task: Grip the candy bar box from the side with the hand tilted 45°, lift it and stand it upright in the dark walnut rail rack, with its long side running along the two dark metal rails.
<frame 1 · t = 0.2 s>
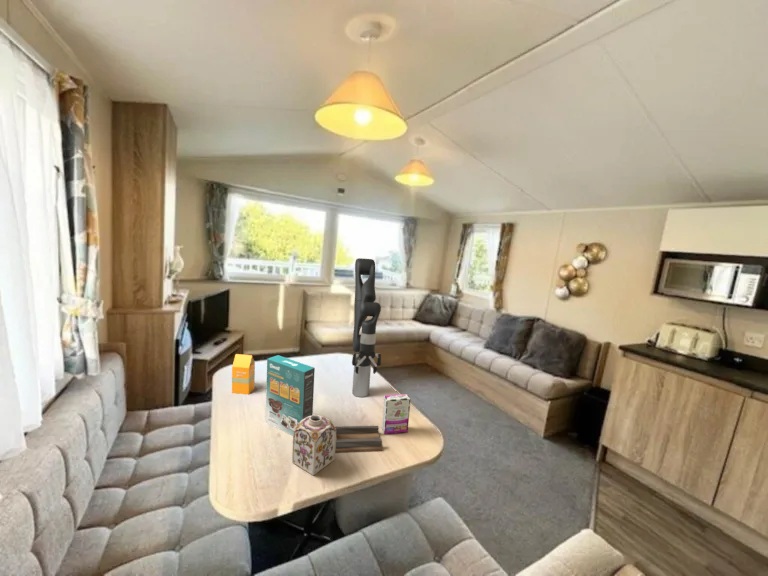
hand: (365, 373, 169), 18 cm above the table, tool pointing down, fingers open, 8 cm apart
candy bar box: (394, 431, 153), on the table
decorative jar: (313, 462, 128), on the table
cake mix box: (288, 428, 149), on the table
orange juice: (243, 390, 179), on the table
rail rack: (356, 441, 143), on the table
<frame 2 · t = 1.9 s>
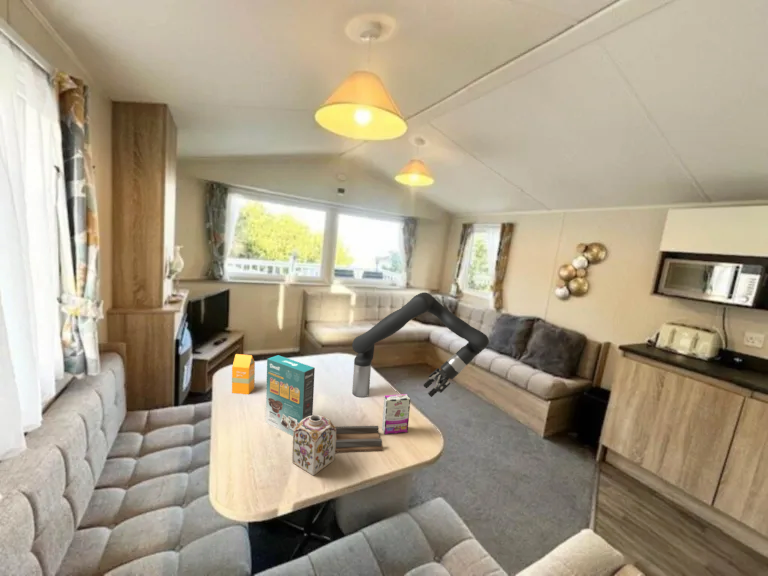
hand: (427, 391, 151), 19 cm above the table, tool tilted 45°, fingers open, 8 cm apart
nothing on the table moved.
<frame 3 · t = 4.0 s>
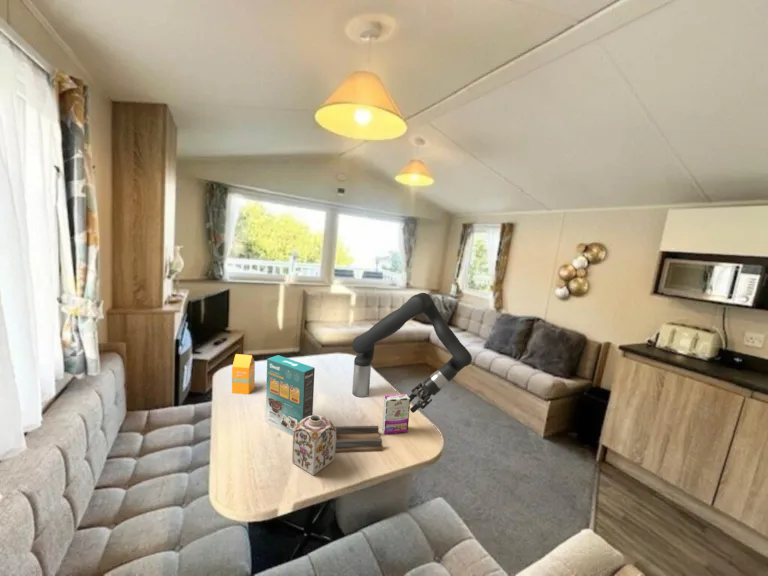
hand: (409, 406, 152), 12 cm above the table, tool tilted 45°, fingers open, 8 cm apart
nothing on the table moved.
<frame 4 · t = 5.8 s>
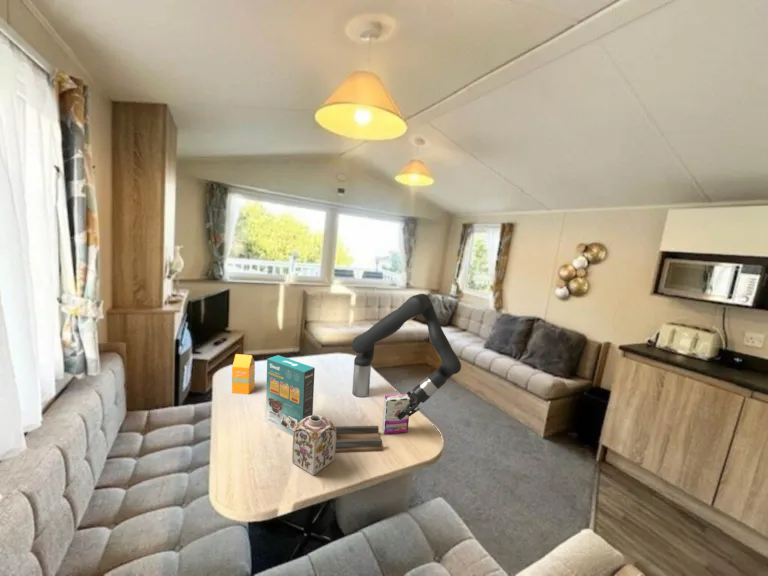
hand: (397, 414, 152), 8 cm above the table, tool tilted 45°, fingers closed on candy bar box, 5 cm apart
candy bar box: (394, 430, 153), on the table, touching gripper
everything else where it was.
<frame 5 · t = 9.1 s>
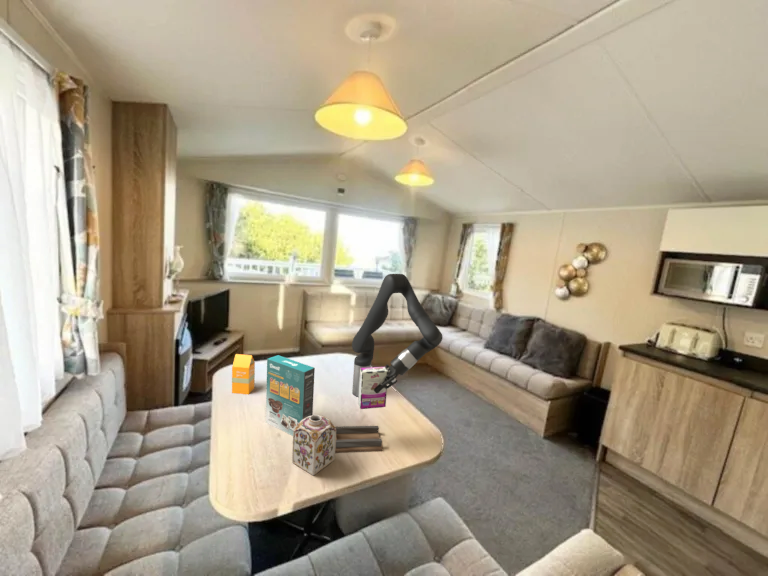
hand: (374, 388, 142), 23 cm above the table, tool tilted 45°, fingers closed on candy bar box, 5 cm apart
candy bar box: (371, 405, 143), point 15 cm above the table, touching gripper
everything else where it was.
when the fingers open (10 cm above the table, at t = 12.5 s): candy bar box drops 1 cm, resting on rail rack.
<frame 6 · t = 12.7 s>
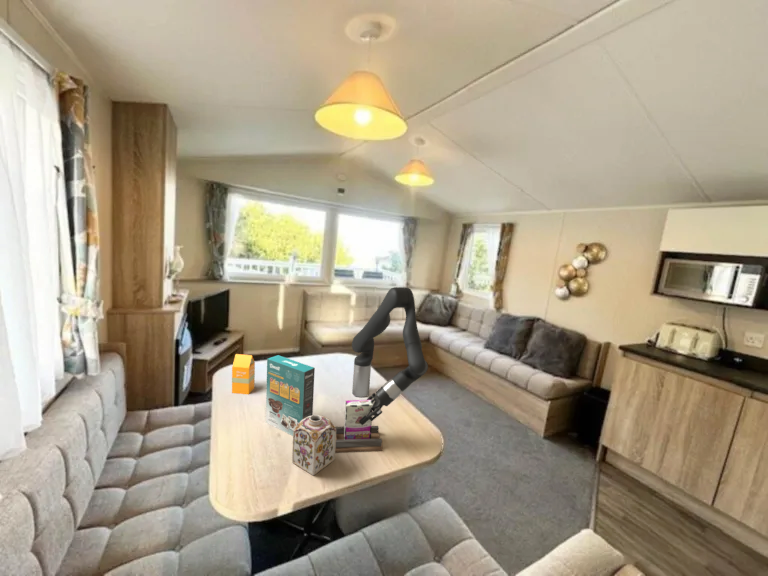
hand: (359, 418, 141), 10 cm above the table, tool tilted 45°, fingers open, 6 cm apart
candy bar box: (356, 438, 143), point 1 cm above the table, touching rail rack
everything else where it was.
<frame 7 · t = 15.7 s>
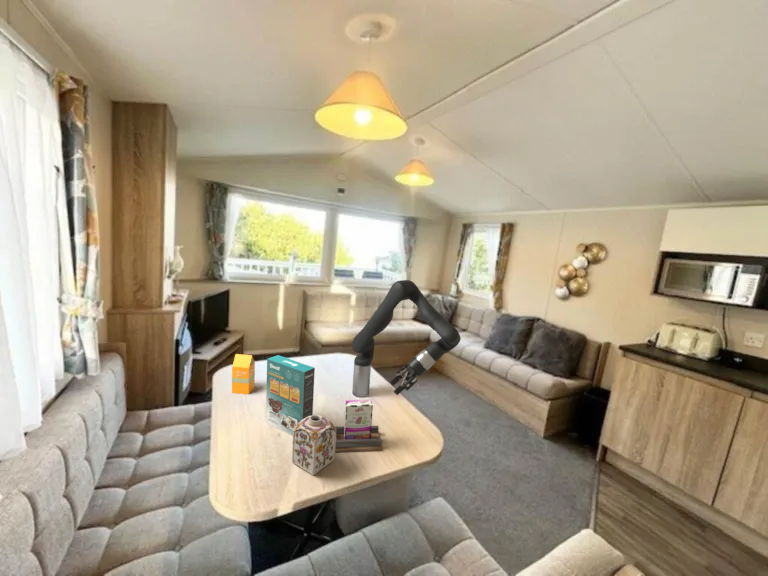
hand: (393, 388, 142), 24 cm above the table, tool tilted 45°, fingers open, 8 cm apart
nothing on the table moved.
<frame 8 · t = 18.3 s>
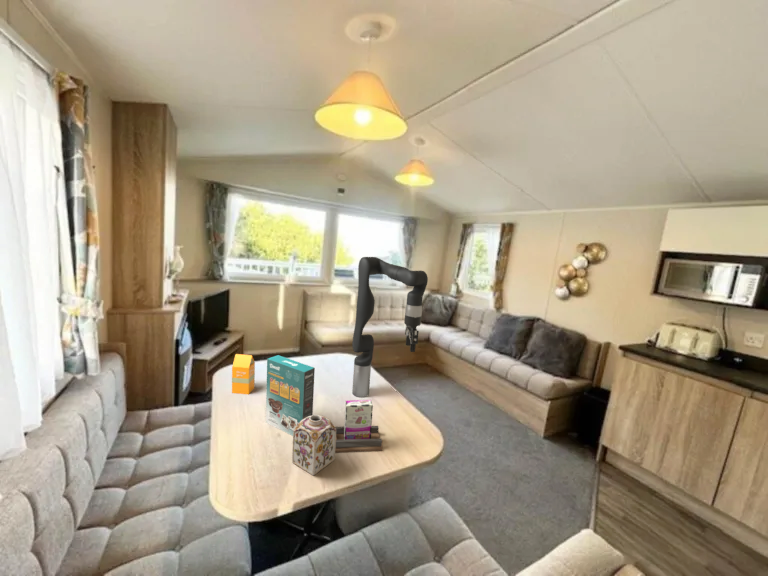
hand: (410, 348, 156), 36 cm above the table, tool pointing down, fingers open, 8 cm apart
nothing on the table moved.
at the end: candy bar box inside the target area on the rail rack (0.5 cm from its centre), point 0.8 cm above the rail rack's base; candy bar box tilted 0°; the gripper is holding nothing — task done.
